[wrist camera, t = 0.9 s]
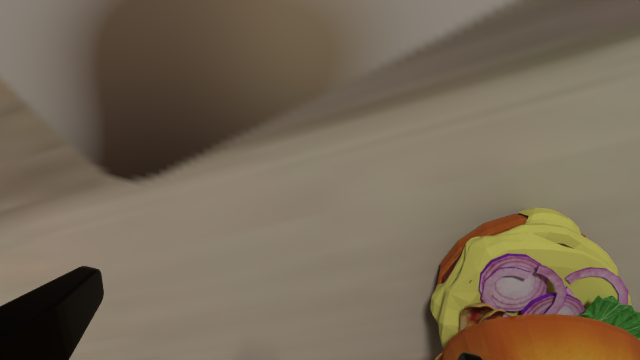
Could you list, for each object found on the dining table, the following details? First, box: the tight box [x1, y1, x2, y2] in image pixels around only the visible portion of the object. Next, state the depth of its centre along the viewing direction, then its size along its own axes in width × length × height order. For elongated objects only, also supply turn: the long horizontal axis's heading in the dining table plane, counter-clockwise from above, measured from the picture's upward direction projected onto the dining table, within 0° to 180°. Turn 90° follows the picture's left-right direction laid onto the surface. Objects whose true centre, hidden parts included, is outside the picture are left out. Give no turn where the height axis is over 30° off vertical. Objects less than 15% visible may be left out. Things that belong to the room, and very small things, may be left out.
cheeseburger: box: [430, 208, 640, 360], centre depth 21 cm, size 10×11×10 cm
